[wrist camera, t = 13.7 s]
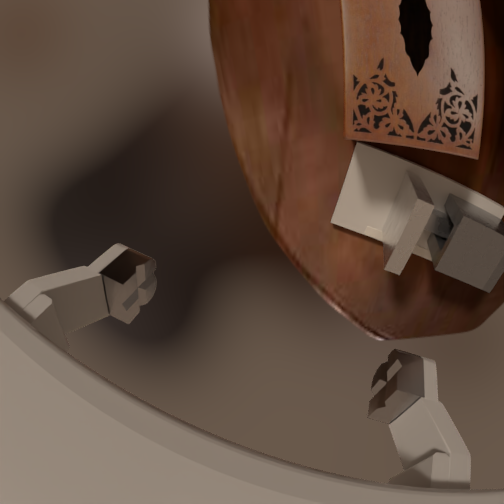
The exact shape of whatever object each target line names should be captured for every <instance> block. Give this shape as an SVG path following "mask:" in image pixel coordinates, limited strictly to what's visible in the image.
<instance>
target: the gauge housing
mask: <svg viewBox="0 0 504 504" xmlns="http://www.w3.org/2000/svg"><path fill="white" fill-rule="evenodd" d="M444 207H445V209H446V211H447V213H448V215H449V217H450V219H451V220H452V222H453V224H454V227H453V229H452V231H451V233H450V235H449V237H448V238H447V239H446V238H444V237H442V236H439V235H437V234H435V233H432V232H431V234H430V236H429V238H428V240H427V244H428V247H429V251H430V254H431V258H432V262H433V265H434V269H435V270H436V271H438V272H441V273H443V274H446V275H448V276H451V277H453V278H456V279H458V280H460V281H463V282H465V283H467V284H470V285H472V286H475V287H477V288H479V289H481V290H484V291H486V292H488V293H490V291H491V290H492V289H493V287H494V286H495V284H496V283H497V281H498V280H499V278H500V276H501V275H502V273H503V272H504V222H503V221H502V220H501V219H500V218H498V217H496V216H494V215H493V214H491V213H489V212H487V211H485V210H483V209H481V208H479V207H477V206H475V205H473V204H471V203H469V202H467V201H465V200H463V199H461V198H459V197H457V196H455V195H453V194H451V193H449V196H448V198H447V200H446V202H445V205H444Z"/></svg>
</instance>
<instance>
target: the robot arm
mask: <svg viewBox="0 0 504 504" xmlns="http://www.w3.org/2000/svg"><path fill="white" fill-rule="evenodd" d="M155 269H156V261H155V260H154V259H153V258H151V257H148V256H146V255H144V254H142V253H139V252H137V251H135V250H133V249H131V248H128V247H126V246H124V245H122V244H120V243H119V244H115V245H114V246H112V247H111V248H110V249H109V250H108V251H106V252H105V253H104V254H103V255H101V256H100V257H99V258H98V259H97V260H95V261H94V262H93V263H92V264H91V265H90V266H88V267H86V266H81V267H78V268H73V269H70V270H66V271H62V272H58V273H54V274H50V275H46V276H43V277H39V278H35V279H32V280H28V281H26V282H25V283H24V284H23V285H22V286H20V287H19V288H18V289H17V290H16V291H15V292H13V293H12V294H11V295H10V296H9V297H8V298H7V299H6V300H5V301H3V300H2V299H1V298H0V504H504V489H482V490H481V489H480V490H470V473H471V455H470V453H469V451H468V449H467V447H466V445H465V444H464V442H463V440H462V438H461V436H460V434H459V432H458V431H457V429H456V427H455V425H454V423H453V422H452V420H451V418H450V416H449V414H448V413H447V411H446V409H445V407H444V406H443V404H442V403H441V402H439V401H438V388H437V373H436V363H435V361H434V360H431V359H428V358H425V357H420V356H418V355H414V354H411V353H408V352H405V351H401V350H398V349H394V350H392V351H391V353H390V354H389V355H388V361H387V362H385V363H382V364H381V365H380V366H379V368H378V369H377V371H376V373H375V375H374V377H373V381H372V386H371V391H372V393H373V395H374V397H373V398H372V399H371V400H370V401H369V410H368V417H367V418H369V419H372V420H376V421H380V422H383V423H387V424H390V425H389V427H390V430H391V433H392V436H393V439H394V442H395V444H396V448H397V450H398V453H399V456H400V460H401V463H402V466H403V469H404V471H403V472H401V473H399V474H397V475H395V476H393V477H392V478H390V479H389V483H381V482H375V481H369V480H364V479H358V478H353V477H348V476H344V475H339V474H335V473H330V472H326V471H322V470H318V469H314V468H311V467H307V466H303V465H300V464H296V463H293V462H289V461H286V460H283V459H280V458H277V457H273V456H270V455H267V454H264V453H262V452H259V451H256V450H253V449H250V448H248V447H245V446H242V445H240V444H237V443H234V442H232V441H229V440H227V439H224V438H222V437H219V436H217V435H214V434H212V433H210V432H208V431H205V430H203V429H201V428H198V427H196V426H194V425H192V424H190V423H188V422H185V421H183V420H181V419H179V418H177V417H175V416H173V415H171V414H169V413H167V412H165V411H163V410H161V409H159V408H157V407H155V406H153V405H152V404H150V403H148V402H146V401H144V400H142V399H140V398H139V397H137V396H135V395H133V394H132V393H130V392H128V391H126V390H124V389H123V388H121V387H120V386H118V385H116V384H115V383H113V382H111V381H110V380H108V379H106V378H105V377H103V376H102V375H100V374H99V373H97V372H95V371H94V370H92V369H91V368H89V367H88V366H86V365H85V364H83V363H82V362H80V361H79V360H77V359H76V358H74V357H73V356H72V355H70V354H69V353H67V351H68V350H69V343H68V341H67V338H66V336H65V334H67V333H70V332H72V331H75V330H77V329H79V328H82V327H84V326H86V325H89V324H91V323H93V322H95V321H98V320H100V319H102V318H104V317H107V316H109V314H110V315H112V316H113V317H115V318H117V319H119V320H121V321H123V322H125V323H127V324H129V323H130V322H131V321H132V320H133V319H134V318H135V316H136V315H137V314H138V313H139V311H140V305H144V304H147V303H148V302H149V300H150V299H151V298H152V296H153V294H154V292H155V288H156V277H155V276H154V274H153V271H154V270H155Z"/></svg>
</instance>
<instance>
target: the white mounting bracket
mask: <svg viewBox="0 0 504 504" xmlns="http://www.w3.org/2000/svg"><path fill="white" fill-rule="evenodd" d="M434 207H435V205H434V203H433V201H432V199H431V197H430V195H429V193H428V191H427V189H426V187H425V185H424V183H423V181H422V179H421V177H420V176H418V175H416V174H414V173H411V172H409V171H407V170H406V172H405V175H404V178H403V180H402V183H401V185H400V188H399V190H398V193H397V195H396V198H395V200H394V202H393V205H392V207H391V210H390V212H389V214H388V217H387V219H386V221H385V223H384V226H383V228H382V235H383V254H384V270H387V271H390V272H392V273H395V274H398V275H400V274H401V272H402V270H403V268H404V266H405V265H406V263H407V261H408V259H409V257H410V255H411V253H412V251H413V249H414V248H415V246H416V244H417V242H418V240H419V238H420V236H421V234H422V232H423V230H424V229H425V230H428V231H430V232H432V233H435V234H437V235H439V236H442V237H444V238H446V239H447V238H448V237H449V235H450V233H451V231H452V229H453V227H454V224H453V222H452V220H451V219H450V217H449V215H447V214H445V213H443V212H441V211H439V210H437V209H434Z"/></svg>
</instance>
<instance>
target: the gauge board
mask: <svg viewBox="0 0 504 504" xmlns="http://www.w3.org/2000/svg"><path fill="white" fill-rule="evenodd" d="M406 170H407V171H409V172H411V173H414V174H416V175H418V176H420V177H421V179H422V181H423V183H424V185H425V187H426V189H427V191H428V193H429V195H430V197H431V199H432V201H433V203H434V205H435V207H434V209H437V210H439V211H441V212H443V213H445V214H447V215H448V213H447V211H446V209H445V207H444V205H445V202H446V200H447V198H448V196H449V193H451V194H453V195H455V196H457V197H459V198H461V199H463V200H465V201H467V202H469V203H471V204H473V205H475V206H477V207H479V208H481V209H483V210H485V211H487V212H489V213H491V214H493V215H494V216H496V217H498V218H500V219H502V217H503V215H504V207H503V206H502V205H500V204H498V203H496V202H495V201H493V200H491V199H489V198H487V197H485V196H484V195H482V194H480V193H478V192H476V191H474V190H472V189H470V188H468V187H466V186H464V185H462V184H460V183H458V182H456V181H454V180H452V179H450V178H448V177H446V176H444V175H441V174H439V173H437V172H435V171H433V170H430V169H428V168H426V167H424V166H421V165H419V164H417V163H414V162H412V161H410V160H407V159H405V158H402V157H400V156H397V155H395V154H392V153H390V152H387V151H385V150H382V149H379V148H377V147H374V146H371V145H368V144H366V143H363V142H360V141H357V143H356V146H355V150H354V153H353V156H352V159H351V162H350V165H349V169H348V172H347V175H346V178H345V181H344V184H343V187H342V190H341V193H340V196H339V199H338V202H337V205H336V208H335V211H334V213H333V216H332V219H331V223H333V224H336V225H339V226H342V227H344V228H347V229H350V230H353V231H355V232H358V233H361V234H364V235H366V236H369V237H372V238H374V239H377V240H380V241H382V242H383V235H382V228H383V226H384V223H385V221H386V219H387V217H388V214H389V212H390V210H391V207H392V205H393V202H394V200H395V198H396V195H397V193H398V190H399V188H400V185H401V183H402V180H403V178H404V175H405V172H406ZM430 234H431V232H430V231H428V230H425V229H424V230H423V232H422V234H421V236H420V238H419V240H418V242H417V244H416V246H415V248H414V249H413V251H412V253H413V254H416V255H418V256H421V257H423V258H425V259H428V260H430V261H432V258H431V254H430V251H429V247H428V244H427V240H428V238H429V236H430Z"/></svg>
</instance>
